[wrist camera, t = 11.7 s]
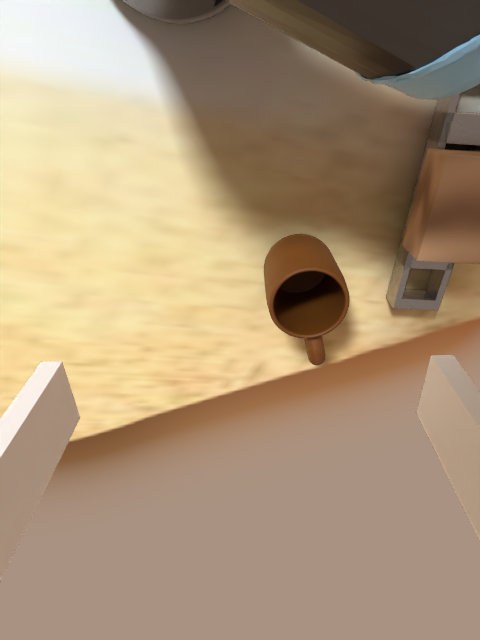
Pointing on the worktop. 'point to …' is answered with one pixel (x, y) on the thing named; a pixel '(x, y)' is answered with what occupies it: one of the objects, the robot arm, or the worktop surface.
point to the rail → (443, 130)
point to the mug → (305, 291)
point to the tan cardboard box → (446, 209)
